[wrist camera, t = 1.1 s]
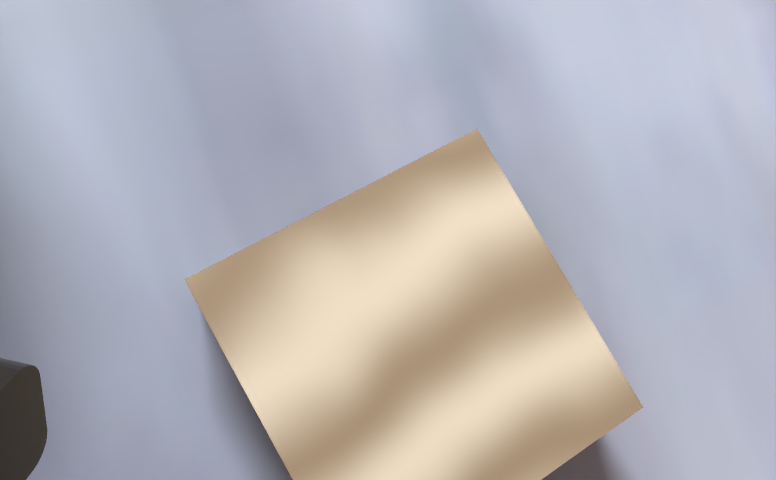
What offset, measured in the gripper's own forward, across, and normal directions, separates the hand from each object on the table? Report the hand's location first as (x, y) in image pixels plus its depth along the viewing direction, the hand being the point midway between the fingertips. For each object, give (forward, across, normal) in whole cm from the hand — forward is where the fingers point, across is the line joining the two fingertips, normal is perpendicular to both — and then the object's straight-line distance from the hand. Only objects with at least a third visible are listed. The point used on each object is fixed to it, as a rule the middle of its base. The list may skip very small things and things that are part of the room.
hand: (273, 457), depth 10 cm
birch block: (+17, -2, +11) cm, 21 cm away
